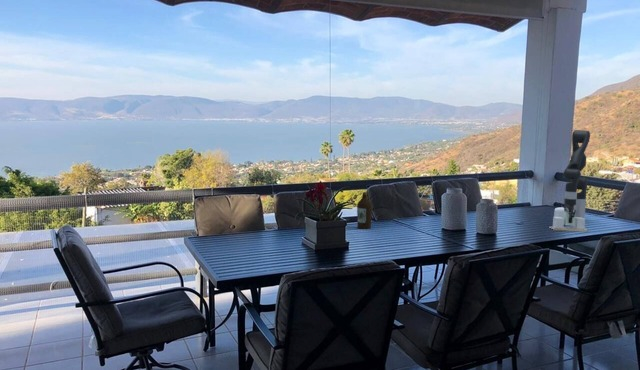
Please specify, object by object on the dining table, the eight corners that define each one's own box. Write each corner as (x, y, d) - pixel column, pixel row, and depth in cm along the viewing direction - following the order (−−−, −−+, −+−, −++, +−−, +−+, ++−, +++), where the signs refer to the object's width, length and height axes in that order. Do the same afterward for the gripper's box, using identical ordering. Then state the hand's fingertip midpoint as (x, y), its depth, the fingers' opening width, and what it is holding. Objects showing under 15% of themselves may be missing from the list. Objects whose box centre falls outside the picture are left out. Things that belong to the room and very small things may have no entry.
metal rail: (551, 227, 347) (551, 226, 347) (583, 228, 346) (583, 227, 346) (553, 228, 343) (553, 227, 343) (586, 229, 342) (586, 228, 342)
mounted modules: (552, 226, 348) (553, 216, 347) (580, 227, 347) (581, 217, 346) (556, 228, 342) (556, 218, 341) (584, 228, 341) (585, 218, 340)
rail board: (549, 227, 350) (549, 226, 350) (581, 228, 349) (581, 227, 349) (554, 230, 341) (554, 229, 340) (587, 231, 339) (588, 230, 339)
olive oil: (361, 225, 354) (362, 191, 351) (374, 227, 348) (375, 192, 345) (353, 228, 345) (354, 192, 342) (366, 230, 339) (367, 194, 336)
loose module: (563, 224, 346) (563, 211, 345) (571, 224, 346) (572, 211, 345) (565, 225, 342) (566, 212, 341) (574, 225, 342) (575, 212, 341)
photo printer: (552, 223, 367) (553, 207, 365) (555, 222, 370) (556, 206, 368) (566, 225, 359) (568, 208, 357) (569, 225, 362) (570, 208, 360)
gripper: (580, 199, 335) (579, 224, 337) (571, 196, 349) (570, 220, 351) (569, 199, 335) (567, 224, 337) (560, 196, 349) (559, 220, 351)
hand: (568, 222), depth 344 cm, fingers closed on loose module, 4 cm apart
